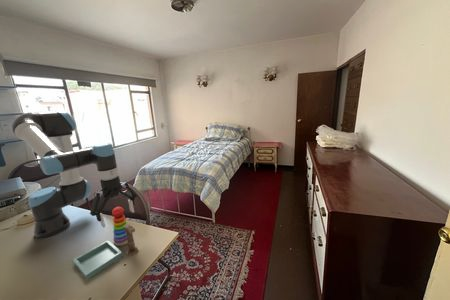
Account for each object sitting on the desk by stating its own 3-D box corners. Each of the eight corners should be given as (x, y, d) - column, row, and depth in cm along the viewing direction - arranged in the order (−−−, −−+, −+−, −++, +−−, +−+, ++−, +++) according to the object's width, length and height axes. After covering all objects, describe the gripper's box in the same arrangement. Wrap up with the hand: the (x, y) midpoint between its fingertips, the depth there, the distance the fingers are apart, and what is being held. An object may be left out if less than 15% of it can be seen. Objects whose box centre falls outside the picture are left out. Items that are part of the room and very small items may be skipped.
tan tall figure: (125, 252, 86) (120, 227, 83) (134, 246, 90) (130, 222, 87) (132, 258, 83) (127, 232, 80) (142, 252, 86) (137, 226, 83)
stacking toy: (124, 248, 89) (117, 213, 85) (110, 246, 91) (102, 212, 86) (135, 236, 97) (129, 204, 92) (121, 235, 99) (115, 203, 94)
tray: (74, 264, 81) (73, 259, 81) (108, 244, 92) (107, 240, 92) (87, 280, 73) (85, 275, 73) (123, 256, 84) (122, 251, 84)
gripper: (80, 190, 74) (92, 236, 79) (139, 170, 93) (146, 208, 98) (73, 186, 78) (85, 230, 83) (131, 168, 98) (138, 204, 103)
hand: (118, 218), depth 91 cm, fingers open, 13 cm apart
